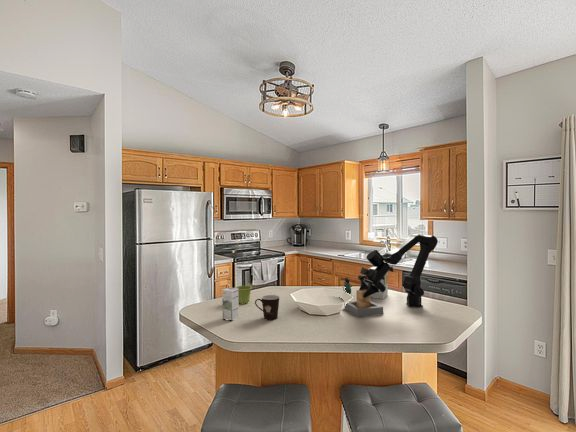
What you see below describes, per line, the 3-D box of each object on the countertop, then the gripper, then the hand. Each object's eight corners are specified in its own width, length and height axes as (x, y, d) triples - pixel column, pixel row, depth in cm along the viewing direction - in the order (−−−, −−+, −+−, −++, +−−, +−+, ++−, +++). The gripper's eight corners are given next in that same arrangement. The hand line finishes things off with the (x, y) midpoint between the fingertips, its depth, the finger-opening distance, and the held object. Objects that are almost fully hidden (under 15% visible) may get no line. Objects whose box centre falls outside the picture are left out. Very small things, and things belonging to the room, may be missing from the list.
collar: (368, 306, 172) (368, 299, 172) (383, 314, 159) (383, 306, 159) (344, 308, 168) (344, 302, 168) (357, 317, 155) (357, 309, 155)
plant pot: (238, 300, 187) (237, 285, 187) (253, 300, 186) (253, 285, 186) (233, 305, 178) (232, 289, 178) (249, 305, 176) (249, 289, 176)
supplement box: (383, 299, 186) (383, 269, 185) (367, 297, 191) (367, 268, 190) (388, 295, 194) (387, 267, 193) (373, 293, 199) (372, 266, 199)
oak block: (365, 306, 167) (365, 289, 167) (370, 309, 162) (370, 291, 162) (356, 307, 165) (356, 290, 165) (361, 310, 160) (361, 292, 160)
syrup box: (239, 317, 156) (238, 287, 156) (232, 321, 150) (231, 290, 150) (229, 316, 158) (229, 286, 158) (222, 320, 153) (221, 289, 153)
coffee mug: (283, 317, 155) (283, 296, 155) (270, 322, 149) (270, 300, 149) (266, 312, 163) (266, 293, 163) (253, 317, 157) (253, 296, 157)
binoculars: (333, 278, 198) (349, 276, 198) (335, 295, 198) (351, 293, 198) (335, 281, 189) (352, 279, 189) (337, 299, 189) (354, 297, 189)
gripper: (360, 259, 173) (342, 281, 170) (380, 264, 155) (359, 289, 152) (373, 273, 176) (355, 295, 173) (394, 280, 158) (374, 304, 155)
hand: (360, 295), depth 163 cm, fingers closed on oak block, 5 cm apart
